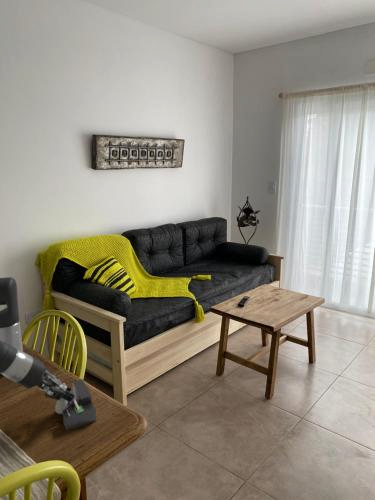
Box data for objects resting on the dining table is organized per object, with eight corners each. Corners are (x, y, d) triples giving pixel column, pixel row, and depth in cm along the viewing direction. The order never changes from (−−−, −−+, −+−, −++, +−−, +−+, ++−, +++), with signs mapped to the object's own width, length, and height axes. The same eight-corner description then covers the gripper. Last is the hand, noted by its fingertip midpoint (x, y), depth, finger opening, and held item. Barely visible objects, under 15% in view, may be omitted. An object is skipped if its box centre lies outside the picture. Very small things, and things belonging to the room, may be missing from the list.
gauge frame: (56, 404, 118) (54, 386, 117) (83, 396, 122) (81, 379, 121) (66, 430, 107) (64, 411, 105) (96, 420, 111) (94, 402, 109)
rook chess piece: (74, 408, 115) (72, 383, 113) (62, 416, 111) (60, 390, 109) (63, 403, 117) (61, 379, 115) (51, 411, 113) (49, 386, 112)
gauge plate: (68, 399, 118) (67, 388, 117) (71, 398, 119) (70, 387, 118) (77, 420, 109) (76, 408, 108) (81, 419, 109) (80, 407, 108)
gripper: (36, 369, 100) (85, 396, 109) (27, 346, 112) (73, 373, 121) (16, 393, 99) (67, 419, 108) (9, 367, 111) (56, 393, 120)
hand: (70, 394), depth 114 cm, fingers closed on rook chess piece, 3 cm apart
